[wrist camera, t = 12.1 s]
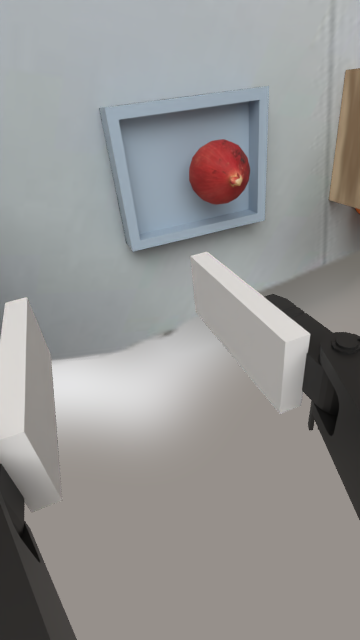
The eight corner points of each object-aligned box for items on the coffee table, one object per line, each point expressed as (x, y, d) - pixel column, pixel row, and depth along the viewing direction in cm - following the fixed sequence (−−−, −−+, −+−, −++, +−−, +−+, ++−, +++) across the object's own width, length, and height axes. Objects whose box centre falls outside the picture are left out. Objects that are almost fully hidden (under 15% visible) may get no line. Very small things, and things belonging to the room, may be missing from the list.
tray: (126, 242, 38) (132, 251, 36) (99, 108, 31) (104, 107, 29) (251, 214, 42) (264, 220, 40) (252, 87, 35) (268, 86, 33)
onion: (204, 123, 34) (244, 126, 28) (238, 165, 38) (280, 175, 31) (167, 171, 35) (197, 184, 29) (203, 207, 39) (237, 226, 32)
